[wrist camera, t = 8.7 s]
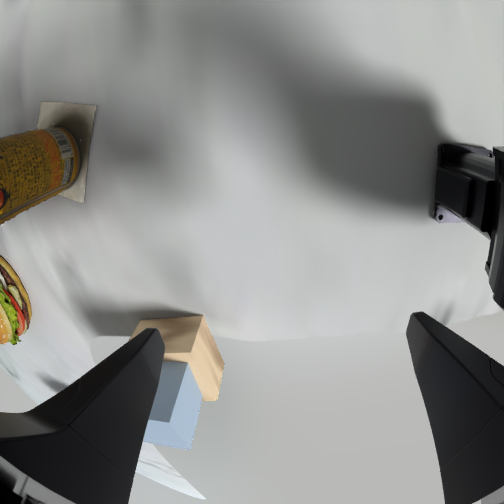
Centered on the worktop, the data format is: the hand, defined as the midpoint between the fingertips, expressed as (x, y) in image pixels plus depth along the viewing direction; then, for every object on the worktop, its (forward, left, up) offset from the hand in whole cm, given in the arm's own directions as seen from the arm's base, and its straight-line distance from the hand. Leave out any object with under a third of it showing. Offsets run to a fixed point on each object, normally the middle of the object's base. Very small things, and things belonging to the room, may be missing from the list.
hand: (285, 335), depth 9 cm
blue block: (+10, +13, -8) cm, 18 cm away
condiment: (+18, -8, -13) cm, 23 cm away
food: (+38, +6, -13) cm, 40 cm away
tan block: (+11, +13, -13) cm, 21 cm away
